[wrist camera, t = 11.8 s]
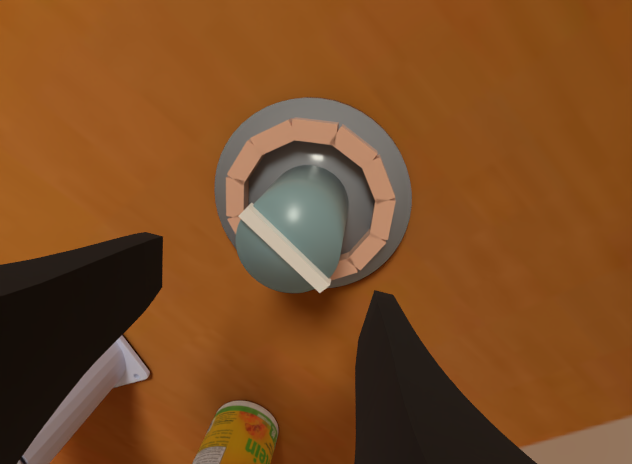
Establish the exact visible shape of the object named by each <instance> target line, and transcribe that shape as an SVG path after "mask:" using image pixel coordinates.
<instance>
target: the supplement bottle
mask: <svg viewBox="0 0 632 464" xmlns="http://www.w3.org/2000/svg"><path fill="white" fill-rule="evenodd" d="M277 437H278V424H277V422H276V420H275V418H274V417H273V416H272V414H271V413H270V412H269V411H267V410H266V409H265V408H263V407H262V406H260V405H258V404H255V403H252V402H249V401H241V400H240V401H232V402H229V403H226V404H224V405H223V406H222V407H221V408H220V409H219V410H218V411H217V413H216V415H215V417H214V419H213V421H212V423H211V425H210V427H209V429H208V431H207V433H206V436H205V438H204V440H203V442H202V444H201V446H200V448H199V450H198V453H197V455H196V457H195V459H194V461H193V463H192V464H271V460H272V456H273V452H274V449H275V445H276V441H277Z"/></svg>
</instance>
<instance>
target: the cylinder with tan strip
mask: <svg viewBox="0 0 632 464" xmlns="http://www.w3.org/2000/svg"><path fill="white" fill-rule="evenodd" d="M348 209H349V200H348V195H347V192H346V190H345V187H344V186H343V184H342V182H341V181H340V180H339V179H338V178H337V177H336V176H335V175H334V174H333V173H331V172H330V171H328V170H326V169H324V168H321V167H318V166H314V165H302V166H297V167H294V168H291V169H289V170H288V171H286V172H285V173H283V174H282V175H281V176H280V177H279V178H278V179H277V180H276V181H275V182H274V183H273V184H272V185H271V186H270V187H269V188H268V190H267V191H266V192H265V193H264V194H263V195H262V196H261V197H260V198H259V199H258V200H257V201H256V202H255V203H254V204H253V203H251V204H250V205H249V206H248V207H247V208H246V209H245V210H244V211H243V212H242V213H241V214H240V215H239V216H238V217H239V218H241V220H240V222H239V224H238V227H237V231H236V249H237V253H238V256H239V258H240V260H241V263H242V264H243V266H244V267H245V269H246V270H247V271H248V273H249V274H250V275H251V276H252V277H253V278H255V279H256V280H257V281H258V282H260V283H261V284H263V285H264V286H266V287H268V288H271V289H273V290H276V291H280V292H285V293H302V292H307V291H310V290H313V289H316V290H317V291H318V292H319V293H321V292H322V291H323V290H325V289H326V288H327V287H328V286H330V283H331V278H330V277H331V276H332V275H333V273H334V272H335V270H336V268H337V266H338V263H339V259H340V254H341V249H342V243H343V238H344V232H345V227H346V221H347V216H348Z"/></svg>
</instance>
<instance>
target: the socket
mask: <svg viewBox="0 0 632 464" xmlns="http://www.w3.org/2000/svg"><path fill="white" fill-rule="evenodd" d="M302 165H314V166H318V167H321V168H324V169H326V170H328V171H330V172H331V173H333V174H334V175H335V176H336V177H337V178H338V179H339V180H340V181H341V182H342V184H343V186H344V187H345V190H346V192H347V195H348V200H349V209H348V216H347V221H346V227H345V232H344V238H343V243H342V249H341V254H340V259H339V263H338V266H337V268H336V270H335V272H334V273H333V275H332V276H331V277H330V278H331V283H330V286H328V287H327V288H334V287H339V286H343V285H347V284H350V283H353V282H355V281H358V280H360V279H362V278H364V277H366V276H368V275H369V274H371V273H372V272H374V271H375V270H377V269H378V268H379V267H380V266H381V265H382V264H384V263H385V262H386V261H387V260H388V259H389V257H390V256H391V255H392V254H393V253H394V251H395V250H396V248H397V247H398V245H399V244H400V242H401V240H402V238H403V236H404V234H405V231H406V229H407V225H408V222H409V219H410V212H411V199H412V192H411V185H410V179H409V175H408V171H407V168H406V165H405V163H404V160H403V158H402V156H401V153H400V151H399V149H398V148H397V146H396V145H395V143H394V141H393V140H392V138H391V137H390V136H389V135H388V134H387V132H386V131H385V130H384V129H383V128H382V127H381V126H380V125H379V124H378V123H377V122H376V121H374V120H373V119H372V118H371V117H369V116H368V115H366V114H365V113H363V112H362V111H360V110H358V109H356V108H354V107H352V106H350V105H348V104H345V103H342V102H339V101H336V100H330V99H325V98H313V97H306V98H296V99H290V100H286V101H282V102H278V103H275V104H273V105H271V106H268V107H266V108H264V109H262V110H260V111H259V112H257V113H255V114H253V115H252V116H251V117H250V118H248V119H247V120H246V121H245V122H243V123H242V124H241V125H240V127H239V128H238V129H237V130H236V131H235V132H234V133H233V135H232V136H231V138H230V139H229V141H228V142H227V143H226V146H225V148H224V150H223V152H222V154H221V156H220V159H219V163H218V166H217V171H216V176H215V201H216V206H217V211H218V215H219V218H220V221H221V223H222V226H223V228H224V230H225V232H226V234H227V236H228V238H229V239H230V241H231V242H232V244H233V245H234V247H235V248H236V231H237V227H238V224H239V222H240V220H241V218H239V217H238V216H239V215H240V214H241V213H242V212H243V211H244V210H245V209H246V208H247V207H248V206H249V205H250V204H251V203H253V204H254V203H255V202H256V201H257V200H258V199H259V198H260V197H261V196H262V195H263V194H264V193H265V192H266V191H267V190H268V188H269V187H270V186H271V185H272V184H273V183H274V182H275V181H276V180H277V179H278V178H279V177H280V176H281V175H282V174H283V173H285V172H286V171H288V170H289V169H291V168H294V167H297V166H302Z"/></svg>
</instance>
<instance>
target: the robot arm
mask: <svg viewBox="0 0 632 464" xmlns="http://www.w3.org/2000/svg"><path fill="white" fill-rule="evenodd" d="M162 256H163V236H159V235H155V234H151V233H147V232H143V233H138V234H133V235H128V236H124V237H120V238H117V239H113V240H109V241H105V242H101V243H98V244H94V245H90V246H86V247H83V248H79V249H75V250H70V251H66V252H62V253H58V254H53V255H49V256H45V257H41V258H36V259H31V260H26V261H20V262H15V263H9V264H3V265H0V464H49V463H50V462H51V461H52V459H53V458H54V457H55V456H56V455H57V454H58V452H59V451H60V450H61V449H62V448H63V446H64V445H65V444H66V443H67V442H68V440H69V439H70V438H71V437H72V436H73V435H74V433H75V432H76V431H77V430H78V429H79V427H80V426H81V425H82V424H83V423H84V422H85V420H86V419H87V418H88V417H89V416H90V414H91V413H92V412H93V411H94V410H95V408H96V407H97V406H98V405H99V404H100V403H101V401H102V400H103V399H104V398H105V397H106V395H107V394H108V393H109V392H110V391H111V390H112V388H115V387H119V386H122V385H126V384H130V383H134V382H137V381H141V380H145V379H147V378H148V377H149V375H150V372H149V370H148V368H147V367H146V366H145V365H144V363H143V362H142V361H141V359H140V358H139V357H138V355H137V354H136V353H135V351H134V350H133V349H132V347H131V346H130V345H129V343H128V342H127V341H126V340H125V338H124V337H123V336H122V334H123V333H124V332H125V331H126V330H127V329H128V328H129V327H130V326H131V325H132V324H133V323H134V322H135V321H136V320H137V319H138V318H139V317H140V316H141V315H142V314H143V312H144V311H145V310H146V309H147V308H148V306H149V305H150V304H151V302H152V301H153V300H154V298H155V297H156V295H157V294H158V292H159V291H160V290H161V288H162ZM355 389H356V450H355V462H354V464H537V463H535V462H534V461H533V460H532V459H531V458H530V457H528V456H527V455H526V454H525V453H524V452H523V451H522V450H520V449H519V448H518V447H517V446H516V445H515V444H513V443H512V442H511V441H510V440H509V439H508V438H507V437H506V436H505V435H503V434H502V433H501V432H500V431H499V430H498V429H497V428H496V427H495V426H494V425H493V424H492V423H491V422H490V421H489V420H488V419H487V418H486V417H485V416H484V415H483V414H482V413H481V412H480V411H479V410H478V409H477V408H476V407H475V406H474V405H473V404H472V403H471V402H470V401H469V400H468V399H467V398H466V397H465V396H464V395H463V394H462V393H461V391H460V390H459V389H458V388H457V387H456V386H455V384H454V383H453V382H452V381H451V380H450V379H449V377H448V376H447V375H446V374H445V373H444V371H443V370H442V369H441V368H440V366H439V365H438V364H437V362H436V361H435V360H434V358H433V357H432V356H431V354H430V353H429V352H428V350H427V349H426V347H425V346H424V344H423V343H422V342H421V340H420V339H419V337H418V336H417V334H416V332H415V331H414V329H413V328H412V326H411V324H410V323H409V321H408V319H407V318H406V316H405V314H404V313H403V311H402V309H401V307H400V306H399V304H398V302H397V301H396V299H395V297H394V296H393V295H391V294H387V293H383V292H379V291H375V290H374V294H373V297H372V300H371V303H370V306H369V309H368V312H367V315H366V318H365V321H364V324H363V327H362V330H361V333H360V336H359V340H358V348H357V357H356V366H355Z"/></svg>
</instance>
